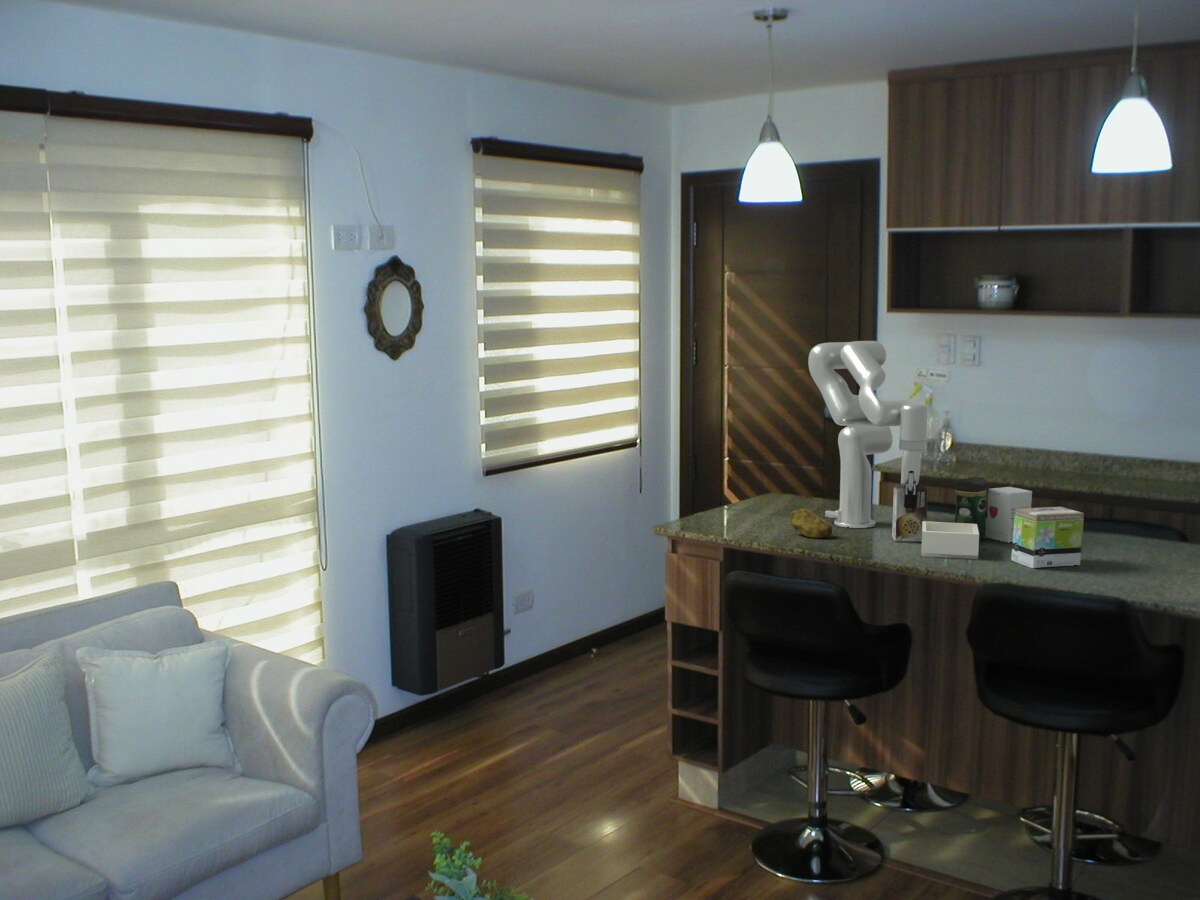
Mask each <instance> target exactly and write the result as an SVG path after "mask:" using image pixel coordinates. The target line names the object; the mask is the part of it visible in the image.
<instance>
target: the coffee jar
mask: <svg viewBox="0 0 1200 900" xmlns="http://www.w3.org/2000/svg"><path fill="white" fill-rule="evenodd" d="M954 487H955V490H954V492H955V513H954V523H968V524H977V527H978V531H979V541H983V539H985V538H986V533H987V514H986V504H987V502H986V501H987V492H988V481H987V480H986V479H985V478H984V477H981V476H980V477H978V476H970V477H966V478H962V479H959V480H957V481H956V482H955V486H954Z"/></svg>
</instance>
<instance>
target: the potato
mask: <svg viewBox="0 0 1200 900" xmlns="http://www.w3.org/2000/svg"><path fill="white" fill-rule="evenodd" d="M788 520H789V523H790V524H791V525H790V526H791V527H792V528H793V529H794V530H796V531H797V532H799V533H800V534H802V535H803V536H805V537H808V538H813V539H821V538H827V537H829V536H831V535H832V533H833V528H832V527H833V526H832V525H831V524H830V523H829V522H828V521H826V520H825V519H823V518H822V517H820V516H819V515H817V514H816V513H813V512H812V511H811V510H809V509H805V508H796V509H794V510H793V511H791V512H790V513H789V516H788Z"/></svg>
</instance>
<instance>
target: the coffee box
mask: <svg viewBox="0 0 1200 900" xmlns="http://www.w3.org/2000/svg"><path fill="white" fill-rule="evenodd" d="M928 489H929V488H928V487H927V486H926V485H925V484H918V485H917V486H916V488H915V495H916V507H915V508H914V509H913V508H904V499H905V494H906V483H905V484H903V485H902V484H901V483H900V484H899V483H898V484H893V495H892V496H893V498H892V501H893V502H892V503H893V504H892V527H891V528H892V530H891V531H892V532H891V535H892V536H891V537H892V539H893V540H894V542H919V543H920V542H921V543H922V521H927V522H928V520H927V518H928V517H927V516H928V515H927V514H928ZM907 492H908V491H907ZM913 492H914V491H913ZM907 494H908V493H907Z"/></svg>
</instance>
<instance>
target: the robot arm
mask: <svg viewBox="0 0 1200 900" xmlns="http://www.w3.org/2000/svg"><path fill="white" fill-rule="evenodd" d="M886 361H887V350H886V349H885V347H884V346H883V344H882V343H880V342H879V341H876V340H855V341H848V342H847V341H845V342H844V341H843V342H841V341H840V342H839V341H838V342H835V341H834V342H823V343H818V344H816V345H815V346H813V347H812V348H811V350H810V352H809V355H808V362H807V363H808V371H809V373H810V376H811V378H812V380H813V382H814V383H815V385H816V386H817V388H818V389H819V391H820V393H821V395H822V397H823V398H822V399H823V400H824V402H825V405H826V406H827V408H828V411H829V414H830V416H831V418H832V420H833V422H834V423H835V424H836V425H838V426H845V427H844V428H842V429H841V430H840V431H839V433H838V438H837V444H838V449H839V458H840V482H839V483H840V484H839V490H840V491H839V508H838V509H837V510H834V511H833V510H825V512H824V513H825V514H824V517H825V518H826V517H828V518H835V519H834V521H833V523H834V525H835V526H838V527H842V528H847V527H849V529H867V528H868V527H869V528H873V527H875V526H876V521H875V520H874V519H872V518H871V512H872V511H871V508H872V507H871V505H872V472H873V471H872V467H871V466H872V465H871V463H870V460H869V459H868V457H867V455H877V454H878V455H879V454H883V453H887V452H888V451H889V450H890V449H891V448H892V446H893V442H894V441H893V439H894V438H893V433H892V430H891V428H890V427H894V426H895V427H899V444H898V445H899V447H898V450H899V451H900V452H902V453H901V454H902V456H901V457H902V458H901V469H900V470H901V471H900V472H901V473H900V476H901V477H900V484H902V485H903V484H906V494H905V499H904V508H913V509H914V508H915V507H916V495H915V488H916V486H917V485H919V482H920V481H919V480H920V475H921V467H922V465H921V463H922V453H924V452H926V451H927V450H926V449H927V427H928V407H927V405H926V404H924V403H917V402H916V403H915V402H911V401H909V400H904V399H903V400H882V401H881V399H879V397H878V396H877V394H876V393H875V391H876V390H877V389H878V388H880V387H881V386H882V385H883V384H884V382H885V381H886V372H885V370H884V369H883V368H882V366H883V365H884V364H885V363H886ZM841 369H842V370H843V369H844V370H845V369H847V370H848V371H849V373H850V374H851V376H852V377H853V379H854V380H855V381H856V383H857V384H858V386H859V387H860V388H859V391H858V395H857V394H853V393H852V392H851V390H850V388H849V385H848V383H847V382H846V380H845V379H844V378H843V376H841V375H840V374H839V373H838V372H836V371H835V370H841ZM907 491H908V492H907ZM913 491H914V492H913ZM907 493H908V494H907Z"/></svg>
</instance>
